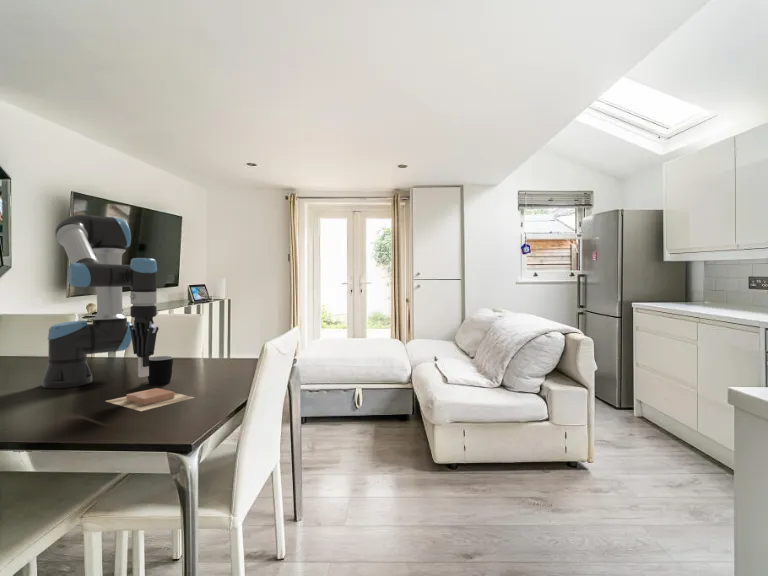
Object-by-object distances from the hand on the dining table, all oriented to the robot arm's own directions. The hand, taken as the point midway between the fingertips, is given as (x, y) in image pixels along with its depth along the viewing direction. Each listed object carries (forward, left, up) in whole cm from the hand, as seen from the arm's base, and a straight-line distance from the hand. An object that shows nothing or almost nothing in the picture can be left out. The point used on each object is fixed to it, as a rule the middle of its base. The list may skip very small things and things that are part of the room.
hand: (143, 376), depth 141 cm
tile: (-1, 0, -6) cm, 6 cm away
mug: (-16, +15, -8) cm, 23 cm away
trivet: (+4, 0, -8) cm, 9 cm away
